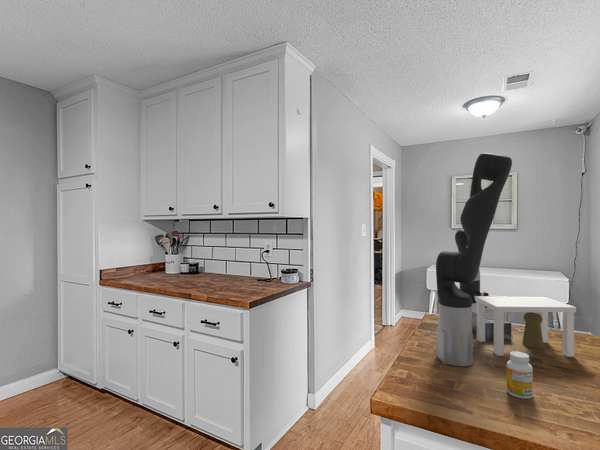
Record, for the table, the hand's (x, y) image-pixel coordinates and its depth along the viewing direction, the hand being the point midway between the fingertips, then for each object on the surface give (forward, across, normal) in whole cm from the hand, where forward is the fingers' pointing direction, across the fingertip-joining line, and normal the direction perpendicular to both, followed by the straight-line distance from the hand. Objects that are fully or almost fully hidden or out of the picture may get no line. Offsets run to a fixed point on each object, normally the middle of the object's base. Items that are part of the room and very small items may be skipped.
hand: (470, 317), depth 136 cm
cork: (+3, +12, -22) cm, 25 cm away
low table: (+3, +6, -25) cm, 26 cm away
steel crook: (+3, +2, -7) cm, 8 cm away
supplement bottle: (+3, -11, -55) cm, 56 cm away
